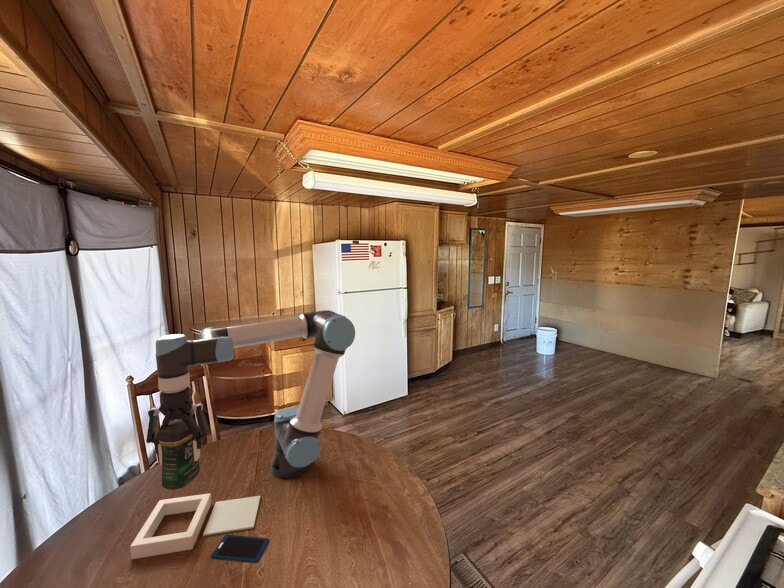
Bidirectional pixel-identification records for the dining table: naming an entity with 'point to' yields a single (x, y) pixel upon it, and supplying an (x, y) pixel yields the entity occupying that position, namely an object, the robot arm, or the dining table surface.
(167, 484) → the coffee jar
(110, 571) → the dining table surface
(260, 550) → the cell phone
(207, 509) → the cream open rectangular frame
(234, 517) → the beige board
